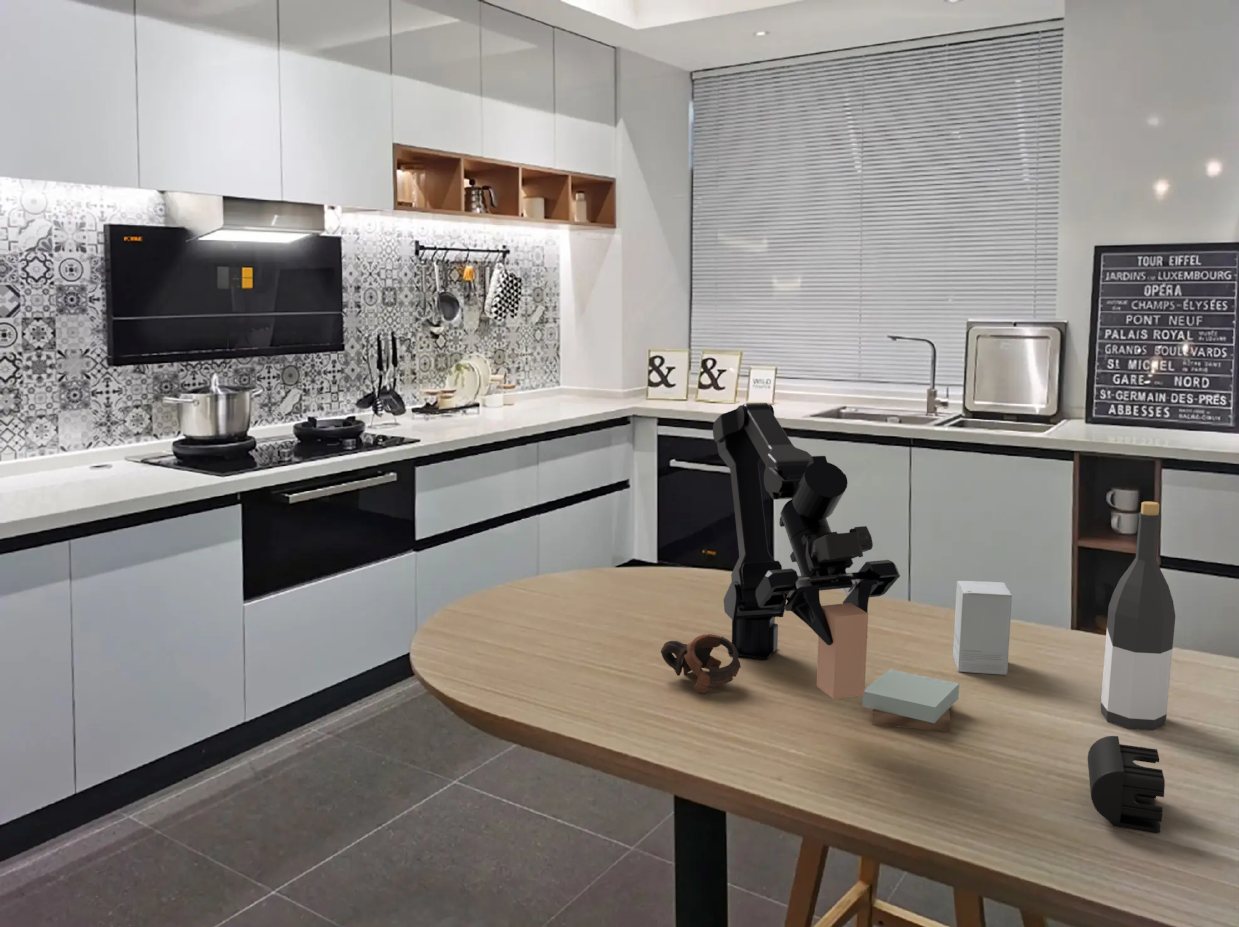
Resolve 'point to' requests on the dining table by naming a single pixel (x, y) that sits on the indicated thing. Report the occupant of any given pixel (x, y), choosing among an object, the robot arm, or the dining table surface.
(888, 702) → the slab upper
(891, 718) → the slab lower
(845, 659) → the terracotta block
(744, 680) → the dining table surface
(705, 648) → the brown curved piece
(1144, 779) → the end cap
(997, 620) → the supplement box
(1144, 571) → the wine bottle
